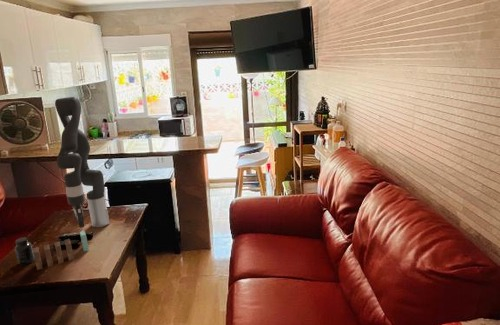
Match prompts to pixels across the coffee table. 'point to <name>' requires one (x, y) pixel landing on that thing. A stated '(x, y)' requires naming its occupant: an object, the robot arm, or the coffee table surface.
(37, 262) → the domino
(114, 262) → the coffee table surface
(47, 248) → the domino
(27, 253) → the supplement bottle
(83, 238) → the domino
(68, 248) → the domino
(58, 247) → the domino
